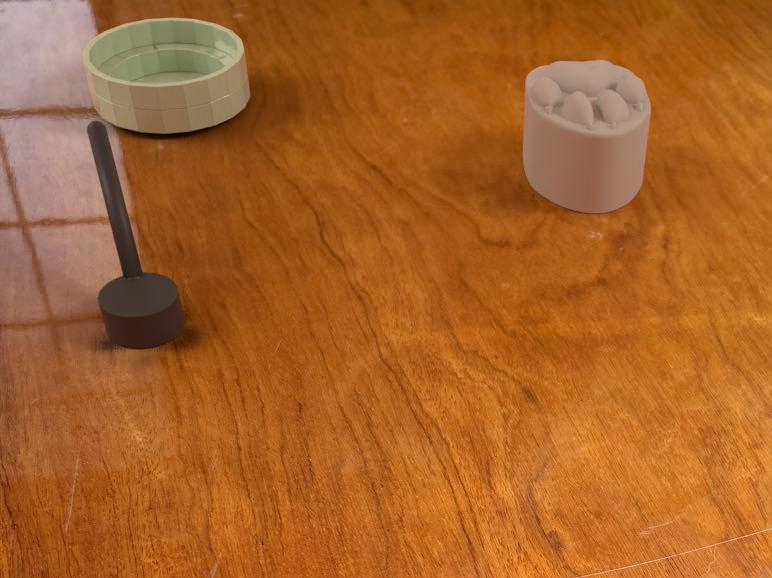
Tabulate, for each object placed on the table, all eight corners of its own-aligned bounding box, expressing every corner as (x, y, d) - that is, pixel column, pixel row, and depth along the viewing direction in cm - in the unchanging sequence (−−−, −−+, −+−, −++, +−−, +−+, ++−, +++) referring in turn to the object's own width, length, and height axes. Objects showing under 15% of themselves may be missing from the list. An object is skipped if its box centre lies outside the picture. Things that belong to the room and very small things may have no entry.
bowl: (162, 156, 103) (151, 102, 100) (63, 103, 109) (49, 50, 105) (282, 101, 111) (275, 49, 108) (183, 55, 117) (174, 4, 113)
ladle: (190, 340, 85) (165, 220, 78) (111, 355, 84) (78, 234, 77) (157, 227, 95) (132, 112, 88) (86, 239, 94) (54, 122, 87)
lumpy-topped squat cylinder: (625, 136, 109) (634, 45, 103) (656, 210, 101) (669, 115, 94) (515, 141, 108) (518, 48, 102) (538, 216, 99) (543, 119, 93)
